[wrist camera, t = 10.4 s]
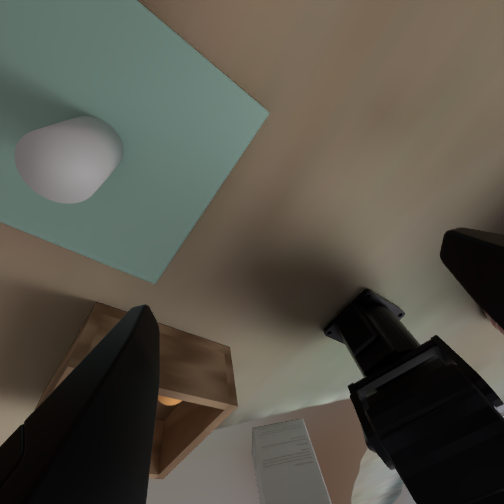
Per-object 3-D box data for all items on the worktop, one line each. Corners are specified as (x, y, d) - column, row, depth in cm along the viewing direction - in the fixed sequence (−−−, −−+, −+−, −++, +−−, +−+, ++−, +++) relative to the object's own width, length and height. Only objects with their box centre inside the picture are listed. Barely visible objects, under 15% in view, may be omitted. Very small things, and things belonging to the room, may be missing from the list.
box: (229, 347, 28) (237, 406, 23) (167, 417, 32) (162, 479, 27) (96, 301, 22) (67, 366, 17) (42, 393, 27) (7, 466, 22)
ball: (196, 364, 27) (197, 395, 24) (180, 383, 28) (178, 415, 25) (166, 355, 25) (162, 387, 23) (150, 375, 26) (145, 409, 24)
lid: (266, 111, 18) (294, 123, 13) (156, 276, 23) (145, 332, 18) (-19, -129, 11) (-191, -300, 6) (-84, 176, 16) (-208, 220, 11)
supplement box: (250, 452, 40) (270, 583, 30) (251, 425, 37) (275, 565, 26) (298, 443, 42) (334, 566, 31) (304, 416, 38) (347, 546, 27)
